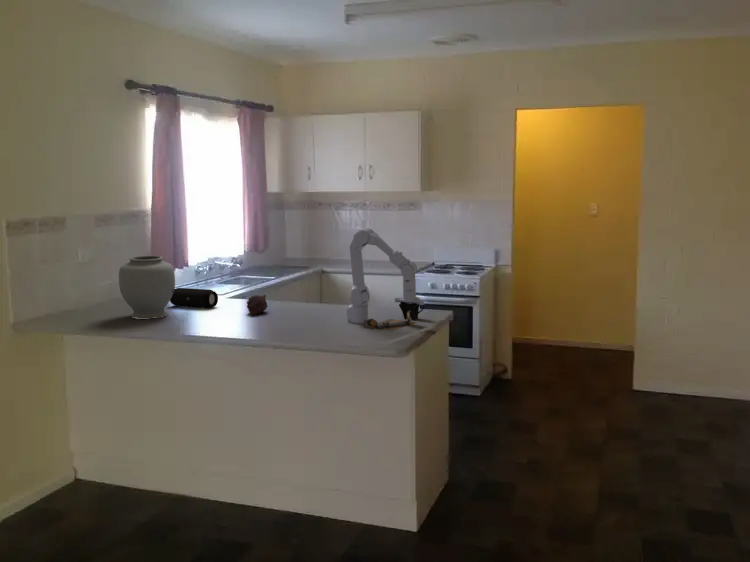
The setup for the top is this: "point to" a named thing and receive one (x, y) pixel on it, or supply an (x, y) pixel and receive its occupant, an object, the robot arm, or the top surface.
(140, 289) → the grey ceramic vase
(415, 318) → the coffee mug
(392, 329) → the board
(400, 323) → the lever
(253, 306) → the pine cone
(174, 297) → the portable speaker
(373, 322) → the walnut
